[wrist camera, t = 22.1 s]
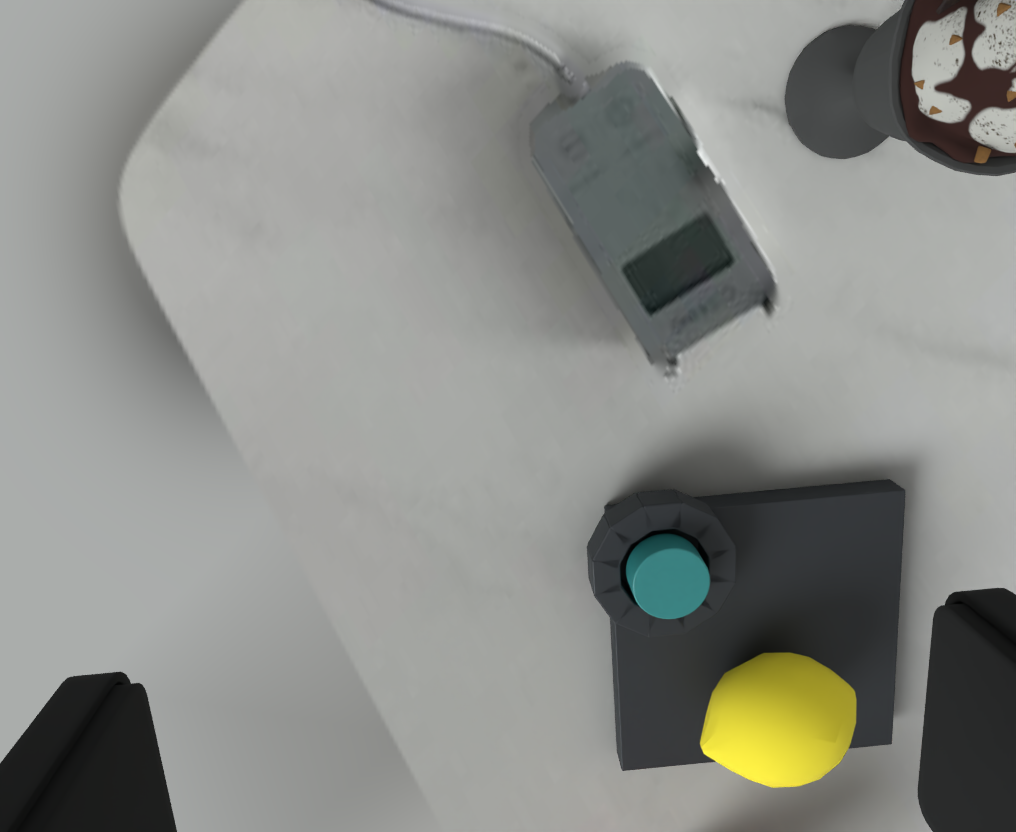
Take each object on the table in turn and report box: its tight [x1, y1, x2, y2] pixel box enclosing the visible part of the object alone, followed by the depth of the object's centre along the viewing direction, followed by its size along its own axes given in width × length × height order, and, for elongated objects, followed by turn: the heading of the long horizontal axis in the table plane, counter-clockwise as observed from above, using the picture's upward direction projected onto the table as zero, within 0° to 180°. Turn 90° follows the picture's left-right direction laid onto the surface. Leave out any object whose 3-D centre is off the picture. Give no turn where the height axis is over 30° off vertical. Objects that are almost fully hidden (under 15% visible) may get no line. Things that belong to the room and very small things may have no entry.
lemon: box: [700, 652, 856, 788], centre depth 35 cm, size 7×5×5 cm
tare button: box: [626, 534, 710, 619], centre depth 34 cm, size 3×3×2 cm
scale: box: [587, 479, 905, 771], centre depth 37 cm, size 14×14×3 cm
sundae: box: [785, 0, 1016, 176], centre depth 25 cm, size 7×7×15 cm
